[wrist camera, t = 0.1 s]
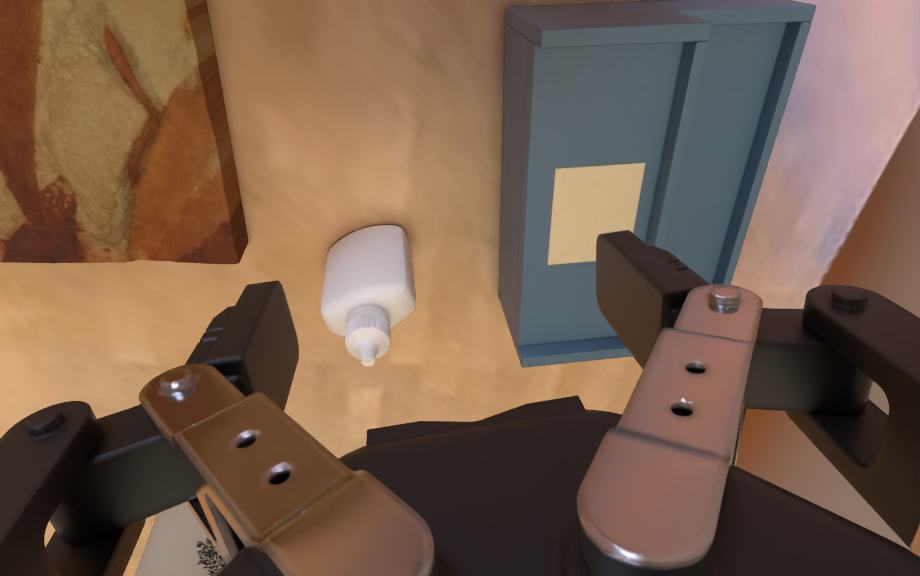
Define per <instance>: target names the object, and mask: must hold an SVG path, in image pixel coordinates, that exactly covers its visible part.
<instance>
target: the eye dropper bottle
mask: <svg viewBox="0 0 920 576" xmlns="http://www.w3.org/2000/svg"><path fill="white" fill-rule="evenodd" d="M415 306H416V292H415V281H414V271H413V262H412V253H411V246H410V244H409V241H408V239H407V236H406V234H405V232H404V230H403V229H402V228H401V227H398V226H394V225H380V226H372V227H367V228H363V229H360V230H357V231H355V232H353V233H351V234H349V235H347V236H345V237H344V238H342V239H341V240H339V241H338V242H337V243H335V244H334V245H333V246H332V247H331V248H330V250H329V252H328V256H327V263H326V270H325V277H324V284H323V291H322V299H321V315H322V317H323V319H324V321H325V323H326V325H327V327H328V328H329V330H330V331H331V332H332V333H333V334H335V335H338V336H343V337H346V341H345V344H346V345H345V346H346V348H347V351H348V352H349V353H350V354H351V355H352V356H353V357H355V358H357V359H360V360H361V363H362V365H364V366H372V365H373V364H374V362H375V360H376V359H378V358H381V357H382V356H384V355H385V354H386V353H387V351H388V350H389V348H390V344H391V341H390V329H391V328H392V327H394V326H396V325H397V324H398V323H400V322H401V321H402V320H404V319H405V318H406V317H407V316H408V315H409V314H410V313H411V312H412V311H413V310H414V308H415Z"/></svg>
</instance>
